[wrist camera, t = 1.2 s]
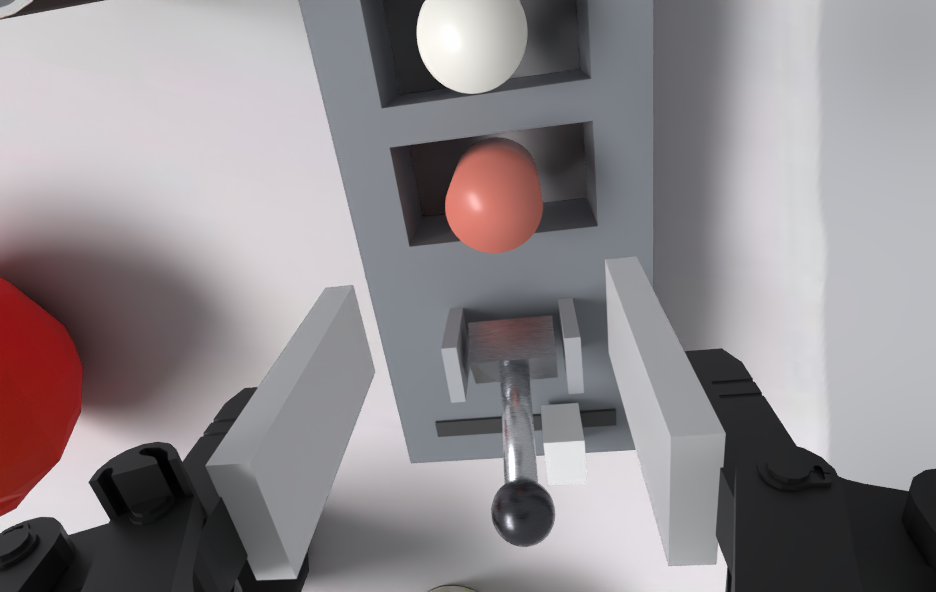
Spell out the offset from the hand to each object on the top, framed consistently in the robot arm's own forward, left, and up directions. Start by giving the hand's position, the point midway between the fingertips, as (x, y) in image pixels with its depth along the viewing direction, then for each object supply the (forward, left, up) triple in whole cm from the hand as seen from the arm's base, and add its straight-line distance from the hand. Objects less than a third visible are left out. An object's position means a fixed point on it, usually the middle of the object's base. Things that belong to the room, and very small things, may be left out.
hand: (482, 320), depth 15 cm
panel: (+3, 0, -17) cm, 17 cm away
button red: (0, 0, -14) cm, 14 cm away
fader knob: (+14, +2, -12) cm, 18 cm away
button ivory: (-6, 0, -14) cm, 15 cm away
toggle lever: (+7, 0, -11) cm, 13 cm away
